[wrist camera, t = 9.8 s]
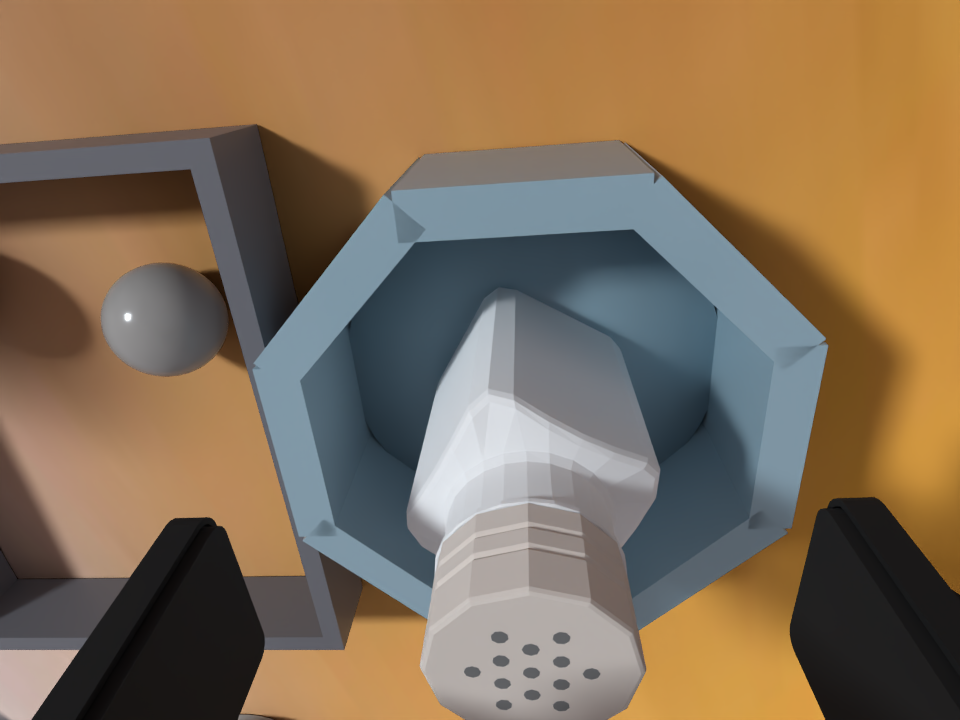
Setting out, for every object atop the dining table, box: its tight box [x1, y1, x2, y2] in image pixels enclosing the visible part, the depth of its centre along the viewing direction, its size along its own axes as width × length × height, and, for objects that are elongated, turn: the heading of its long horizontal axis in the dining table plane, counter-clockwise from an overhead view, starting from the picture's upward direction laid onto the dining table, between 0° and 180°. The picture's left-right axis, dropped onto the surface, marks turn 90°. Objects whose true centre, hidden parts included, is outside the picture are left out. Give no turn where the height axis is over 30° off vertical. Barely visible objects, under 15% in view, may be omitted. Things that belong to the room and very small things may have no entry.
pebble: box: [101, 263, 229, 377], centre depth 16 cm, size 3×3×3 cm
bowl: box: [252, 140, 828, 631], centre depth 16 cm, size 12×12×4 cm
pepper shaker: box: [406, 287, 660, 720], centre depth 13 cm, size 4×4×10 cm
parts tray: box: [0, 124, 363, 650], centre depth 18 cm, size 16×14×3 cm
